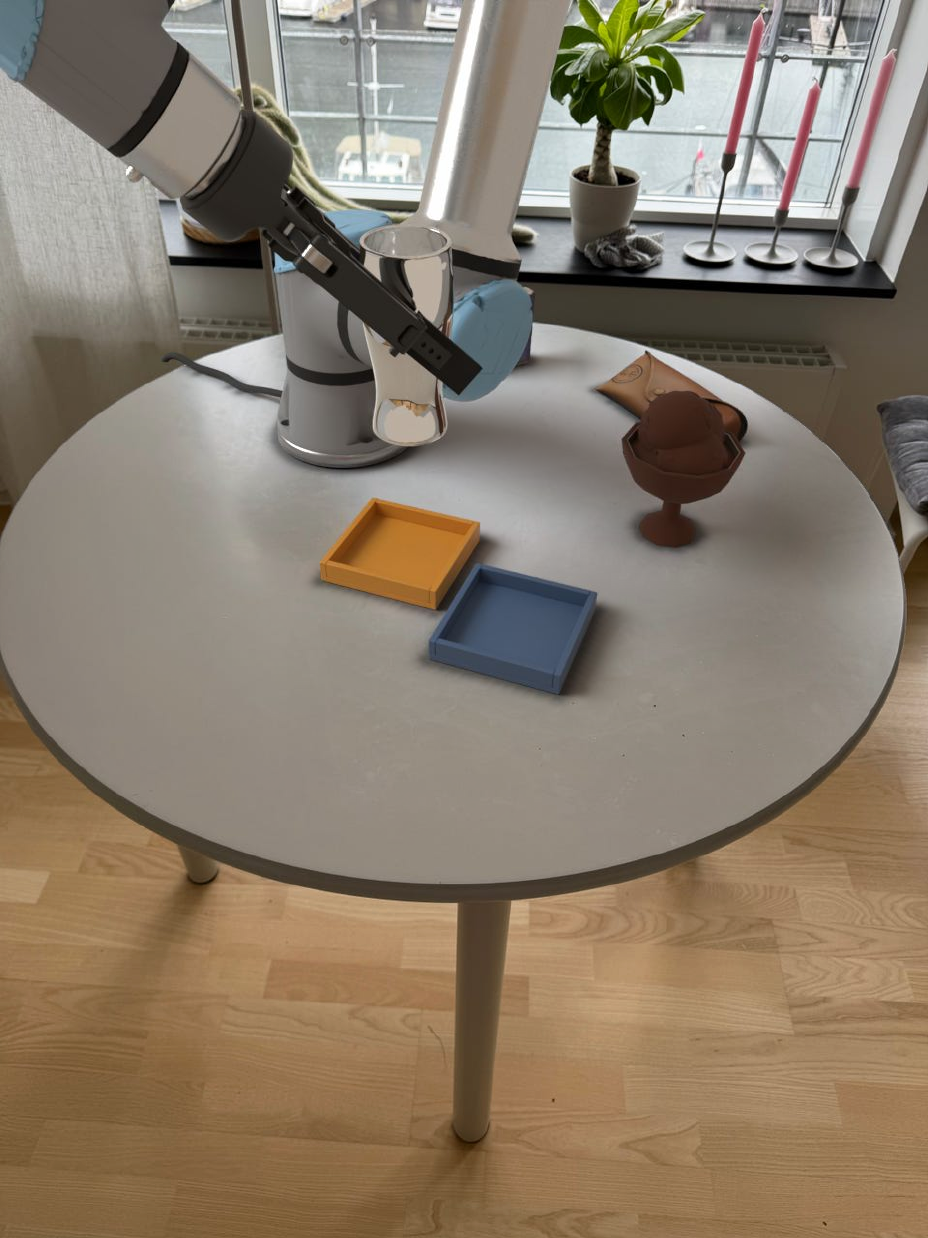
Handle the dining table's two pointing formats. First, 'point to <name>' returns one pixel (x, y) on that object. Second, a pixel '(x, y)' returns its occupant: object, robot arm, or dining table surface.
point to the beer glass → (426, 285)
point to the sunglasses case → (664, 391)
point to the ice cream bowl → (679, 461)
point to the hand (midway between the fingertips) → (451, 357)
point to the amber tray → (401, 552)
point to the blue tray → (514, 627)
